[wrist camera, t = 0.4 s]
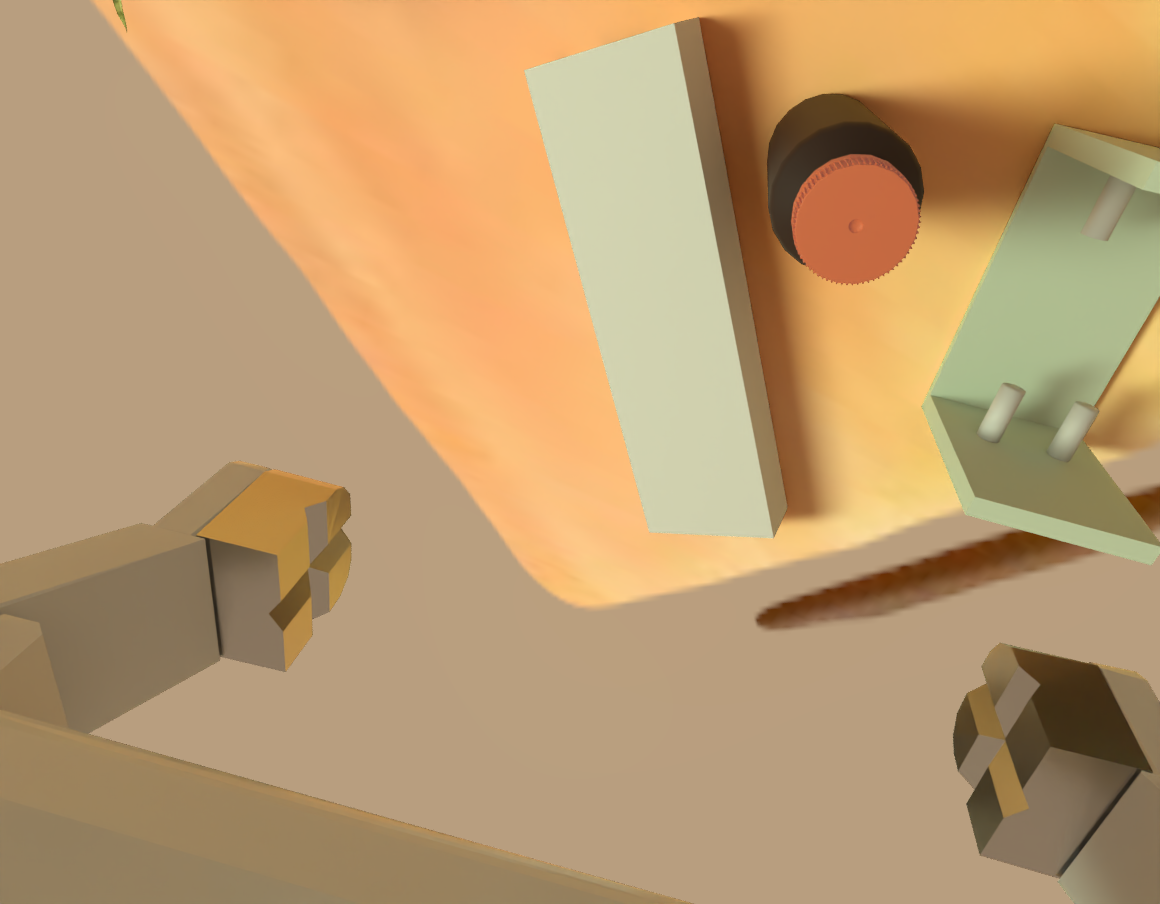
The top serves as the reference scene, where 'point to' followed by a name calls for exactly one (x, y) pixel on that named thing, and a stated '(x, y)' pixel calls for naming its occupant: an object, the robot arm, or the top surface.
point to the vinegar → (842, 190)
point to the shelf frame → (1054, 346)
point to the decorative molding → (664, 277)
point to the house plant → (120, 11)
